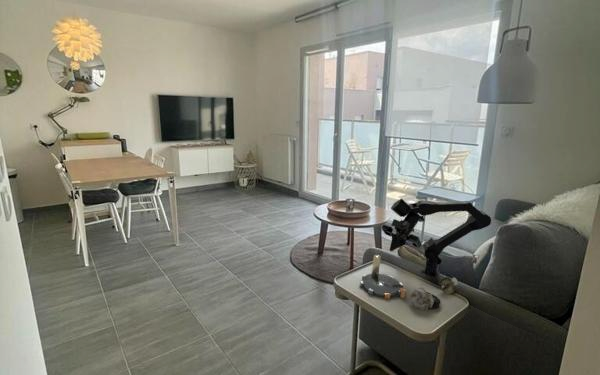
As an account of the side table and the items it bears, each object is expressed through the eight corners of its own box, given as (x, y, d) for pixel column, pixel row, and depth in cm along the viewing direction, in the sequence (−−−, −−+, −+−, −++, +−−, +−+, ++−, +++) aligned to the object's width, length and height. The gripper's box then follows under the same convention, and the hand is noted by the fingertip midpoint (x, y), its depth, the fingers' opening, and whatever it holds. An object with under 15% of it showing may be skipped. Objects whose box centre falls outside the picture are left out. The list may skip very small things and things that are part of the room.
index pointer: (400, 295, 131) (401, 287, 130) (405, 298, 130) (406, 290, 129) (398, 297, 130) (399, 289, 129) (403, 299, 128) (405, 291, 128)
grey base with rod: (373, 272, 148) (376, 250, 145) (409, 288, 136) (413, 264, 134) (351, 285, 135) (354, 261, 133) (389, 304, 124) (393, 277, 121)
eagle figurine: (434, 280, 143) (433, 285, 135) (447, 269, 141) (446, 274, 133) (448, 293, 141) (448, 300, 133) (461, 283, 139) (461, 288, 131)
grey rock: (434, 306, 130) (439, 318, 120) (406, 295, 132) (408, 305, 122) (440, 291, 129) (445, 301, 119) (412, 280, 131) (414, 289, 121)
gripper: (386, 207, 151) (367, 233, 147) (421, 219, 137) (401, 249, 133) (394, 221, 158) (376, 246, 154) (429, 233, 143) (410, 262, 139)
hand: (390, 250), depth 145 cm, fingers closed
